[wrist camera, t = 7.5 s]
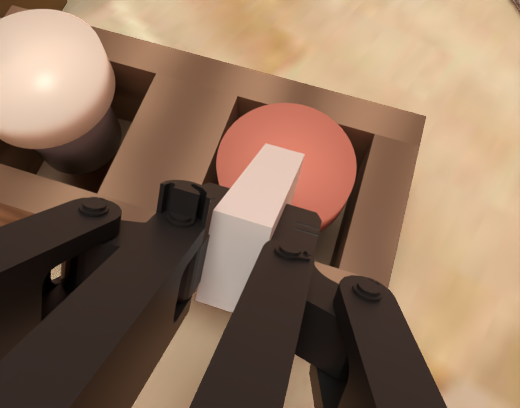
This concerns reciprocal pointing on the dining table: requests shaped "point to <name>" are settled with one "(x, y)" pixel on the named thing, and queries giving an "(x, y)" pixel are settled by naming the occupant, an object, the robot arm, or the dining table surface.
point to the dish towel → (517, 3)
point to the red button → (299, 140)
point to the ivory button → (57, 90)
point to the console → (207, 144)
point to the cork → (31, 5)
